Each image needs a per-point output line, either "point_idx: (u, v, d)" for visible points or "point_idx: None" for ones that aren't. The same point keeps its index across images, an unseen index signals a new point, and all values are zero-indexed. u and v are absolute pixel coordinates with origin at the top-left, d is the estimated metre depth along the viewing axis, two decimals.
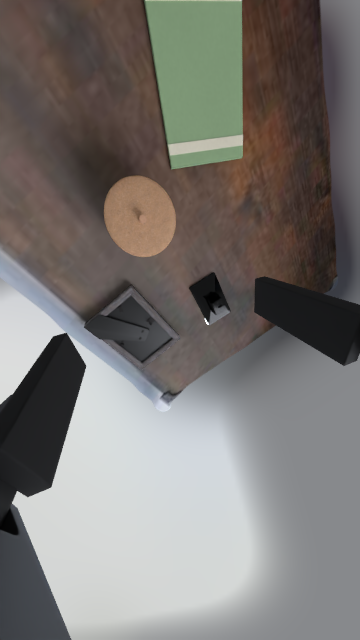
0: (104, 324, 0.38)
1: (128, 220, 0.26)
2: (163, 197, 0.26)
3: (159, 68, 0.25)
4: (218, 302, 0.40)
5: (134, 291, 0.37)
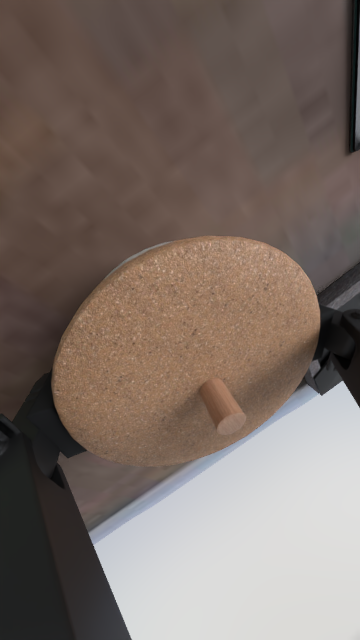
0: (331, 371, 0.21)
1: (211, 420, 0.08)
2: (119, 317, 0.05)
3: None
4: None
5: None
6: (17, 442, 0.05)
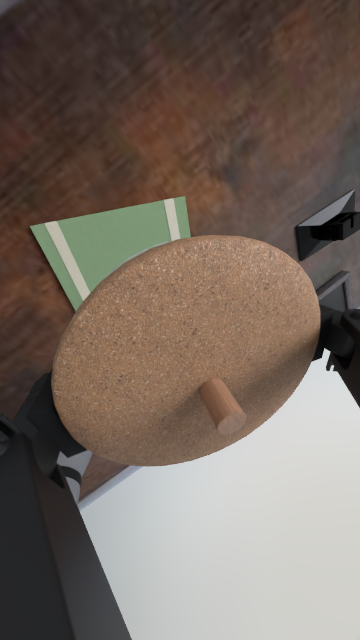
0: None
1: (211, 420, 0.08)
2: (119, 316, 0.05)
3: None
4: (346, 228, 0.29)
5: None
6: (17, 442, 0.05)
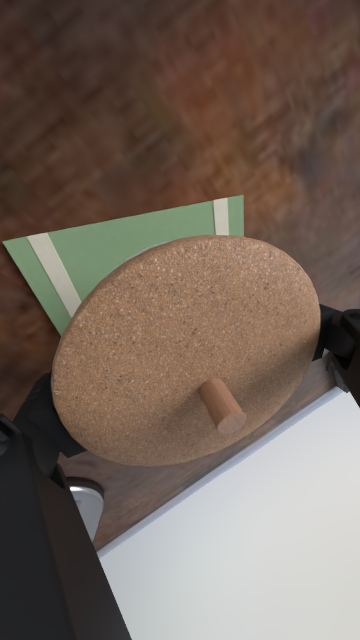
0: None
1: (211, 420, 0.08)
2: (119, 316, 0.05)
3: None
4: None
5: None
6: (17, 442, 0.05)
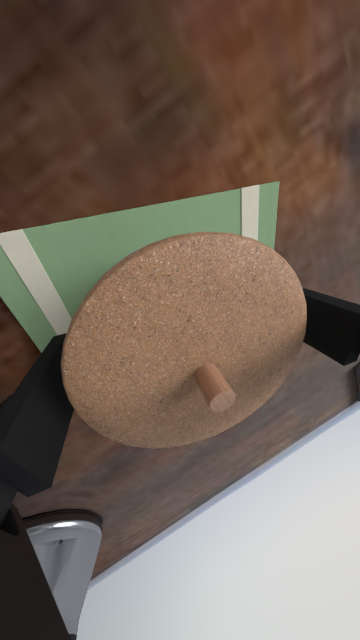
0: None
1: (205, 404, 0.08)
2: (122, 303, 0.05)
3: None
4: None
5: None
6: None
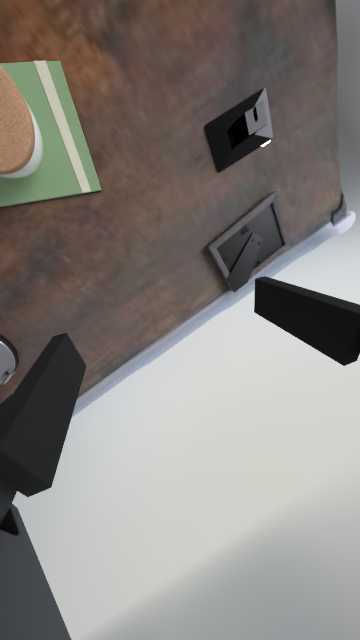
0: (236, 276, 0.42)
1: None
2: None
3: (28, 197, 0.28)
4: (249, 120, 0.28)
5: (213, 244, 0.38)
6: None
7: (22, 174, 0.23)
